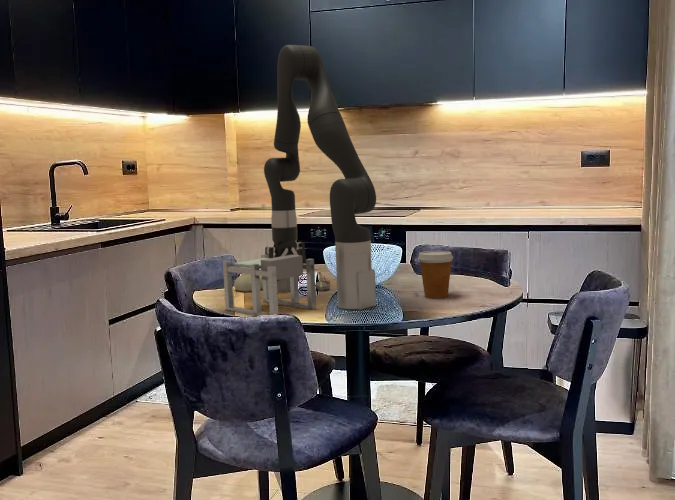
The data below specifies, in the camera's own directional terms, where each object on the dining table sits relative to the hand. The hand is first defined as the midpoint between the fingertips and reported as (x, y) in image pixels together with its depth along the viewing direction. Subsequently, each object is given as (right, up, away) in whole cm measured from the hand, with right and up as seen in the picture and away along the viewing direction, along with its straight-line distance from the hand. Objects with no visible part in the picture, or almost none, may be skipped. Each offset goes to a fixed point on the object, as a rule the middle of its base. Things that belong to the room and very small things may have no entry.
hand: (286, 278), depth 204 cm
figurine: (+11, -4, -2) cm, 12 cm away
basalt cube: (0, -4, 0) cm, 4 cm away
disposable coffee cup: (+42, -4, -18) cm, 46 cm away
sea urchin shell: (-12, -4, +4) cm, 13 cm away
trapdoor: (-3, +2, -27) cm, 27 cm away
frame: (-2, -7, -26) cm, 27 cm away
